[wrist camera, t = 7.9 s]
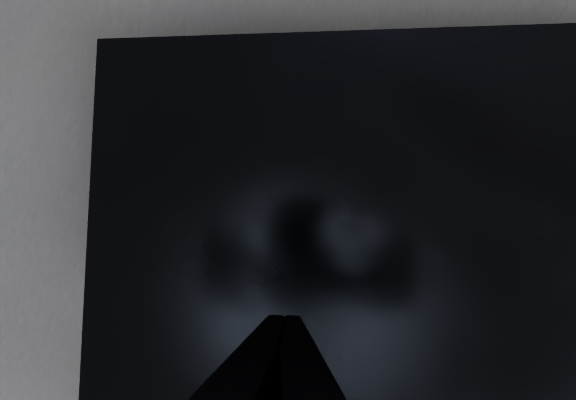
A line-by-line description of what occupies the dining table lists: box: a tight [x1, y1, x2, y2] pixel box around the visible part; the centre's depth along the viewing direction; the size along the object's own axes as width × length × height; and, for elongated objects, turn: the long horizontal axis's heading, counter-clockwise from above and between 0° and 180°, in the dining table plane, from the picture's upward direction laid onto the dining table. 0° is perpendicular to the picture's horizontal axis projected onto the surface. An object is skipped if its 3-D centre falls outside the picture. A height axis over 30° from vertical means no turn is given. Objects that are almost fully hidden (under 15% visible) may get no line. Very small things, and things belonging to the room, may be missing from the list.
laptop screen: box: [79, 23, 576, 400], centre depth 17 cm, size 20×29×1 cm
